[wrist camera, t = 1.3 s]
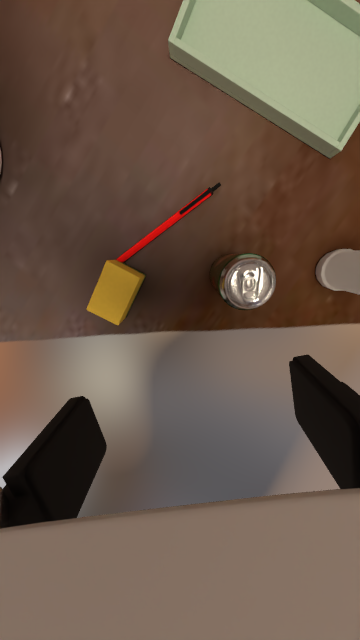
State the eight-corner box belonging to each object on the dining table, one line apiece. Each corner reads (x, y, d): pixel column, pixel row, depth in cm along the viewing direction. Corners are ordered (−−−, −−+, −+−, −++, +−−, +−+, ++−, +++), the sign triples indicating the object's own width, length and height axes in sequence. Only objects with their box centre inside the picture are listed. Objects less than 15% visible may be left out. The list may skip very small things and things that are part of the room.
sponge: (98, 303, 32) (86, 309, 29) (116, 259, 31) (106, 260, 27) (126, 317, 33) (117, 325, 29) (146, 274, 31) (140, 278, 27)
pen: (221, 188, 28) (222, 185, 27) (105, 276, 31) (102, 277, 30) (217, 181, 27) (218, 178, 26) (101, 271, 31) (98, 271, 30)
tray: (169, 58, 24) (167, 40, 22) (217, -64, 22) (220, -97, 20) (329, 159, 26) (341, 150, 24) (392, 58, 23) (411, 39, 21)
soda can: (246, 252, 30) (280, 249, 18) (247, 290, 31) (280, 310, 19) (208, 256, 30) (217, 257, 18) (210, 293, 31) (221, 315, 20)
